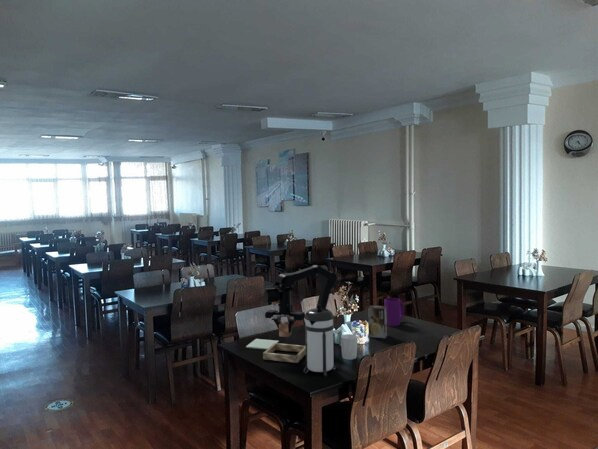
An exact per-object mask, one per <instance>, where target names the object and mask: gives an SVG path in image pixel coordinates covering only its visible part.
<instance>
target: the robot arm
mask: <svg viewBox="0 0 598 449" xmlns="http://www.w3.org/2000/svg"><path fill="white" fill-rule="evenodd" d="M315 275H317V277H319V278H320V281H319V282H320V291H319V295H318V299H317V303H316V305H317V304H321V306H322V307H321V308H324V309H327V306H328V302H329V298H330V296H331V290H333V288H334V287H335V285H336V283H337V280H338V275H337V274H336V273H335V272H333V271H329V270H327V269H326V268H323V267H322V266H320V265H317V264H313V265H312V266H309V267H307V268H303V269H300V270H297V271H294V272H285V273H280V274H278V275H277V277H276V281H275V282H274V284H273V285H272V287H270V288H267V287H266V288H264V291H263V294H262V300H263V302H264V303H265V304H271V303H277V302H278V303H277V307H278V311H277V310H276V309H268V310H266V312H265V313H264V318H265V319H271V320H272V321H273V322H274V323H275V325H276V327H277V330H279V324H280V323H281V322H282V321H281V320H282V317H283V318H289V319H288V322H289V333H291V334H292V330H293V326H294V324H295V322H296V321H303V320H304V319H305V315H306V312H304V311H296V312H295V308H296V307H295V306H296V305H294V304H293V303H292V301H291V300H292V299H291V298H292V296H291V293H292V292H294V291H295V288H294V287H293V286H294V285H295V284H296V283H297V282H298V281H301V280H304V279H307V278H309V277H312V276H315ZM315 308H317V307H316V306H315Z"/></svg>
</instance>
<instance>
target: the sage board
mask: <svg viewBox="0 0 598 449" xmlns="http://www.w3.org/2000/svg"><path fill="white" fill-rule="evenodd" d="M279 342H280V341H279V340H276V339H275V340H273V339H261V338H255V339H254V340H252V341H251V342H249V343H248V344H247V345H246V346H245V348H247V349H256V350H257V349H258V350H265V351H266V350H267V349H268V348H269V347H271V346H272V345H273V344H274V343H279Z"/></svg>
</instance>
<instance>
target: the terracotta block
mask: <svg viewBox="0 0 598 449" xmlns="http://www.w3.org/2000/svg"><path fill="white" fill-rule="evenodd" d="M278 331H279V332H278V337H279V338H280V337H283V338H289V337H290V336H291V335H292V332H291V333H289V321H283V320H282V321H281V323H280V324H279V329H278Z"/></svg>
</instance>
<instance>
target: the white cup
mask: <svg viewBox="0 0 598 449" xmlns="http://www.w3.org/2000/svg"><path fill="white" fill-rule="evenodd" d="M340 343H341V344H340V345H341V346H340V347H341V355H342V356H341V357H342V358H343V359H344V360H348V361H350V360H351V361H352V360H355V359H357V353H358V335H356V334H351V333H349V334H348V333H347V334H342V335H341V336H340Z"/></svg>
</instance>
